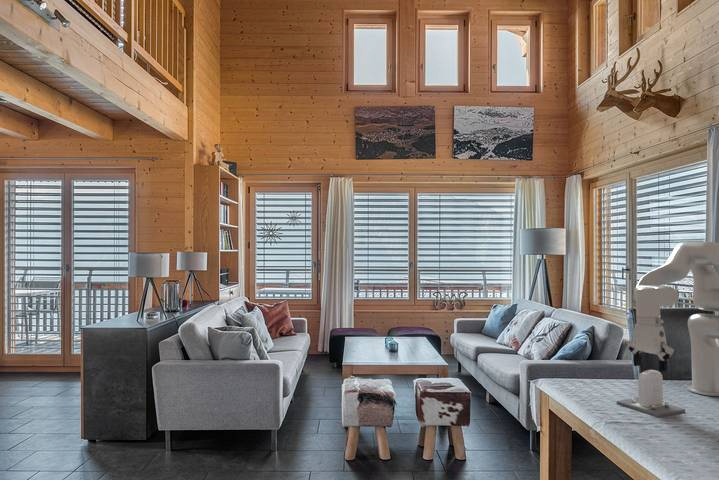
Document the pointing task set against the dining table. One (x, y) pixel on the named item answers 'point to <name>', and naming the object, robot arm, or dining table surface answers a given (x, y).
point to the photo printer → (650, 388)
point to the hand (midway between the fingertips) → (649, 368)
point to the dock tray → (654, 409)
